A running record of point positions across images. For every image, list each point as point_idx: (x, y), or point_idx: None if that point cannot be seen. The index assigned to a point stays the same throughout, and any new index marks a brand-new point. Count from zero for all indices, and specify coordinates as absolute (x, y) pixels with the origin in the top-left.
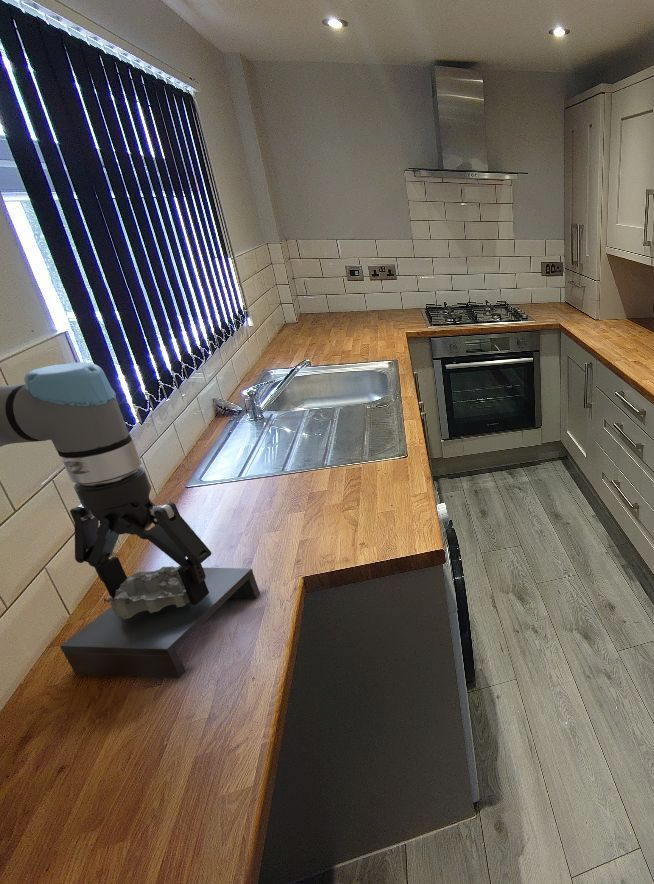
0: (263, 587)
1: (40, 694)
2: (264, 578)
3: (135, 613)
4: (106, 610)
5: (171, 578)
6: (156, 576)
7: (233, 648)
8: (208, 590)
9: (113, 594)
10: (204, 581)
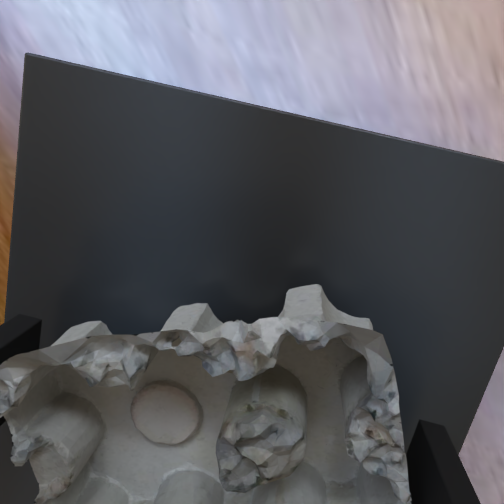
0: (495, 115)
1: None
2: (480, 38)
3: (163, 481)
4: None
5: (264, 440)
6: (145, 368)
7: (483, 448)
8: (390, 334)
9: (1, 423)
10: (470, 484)
